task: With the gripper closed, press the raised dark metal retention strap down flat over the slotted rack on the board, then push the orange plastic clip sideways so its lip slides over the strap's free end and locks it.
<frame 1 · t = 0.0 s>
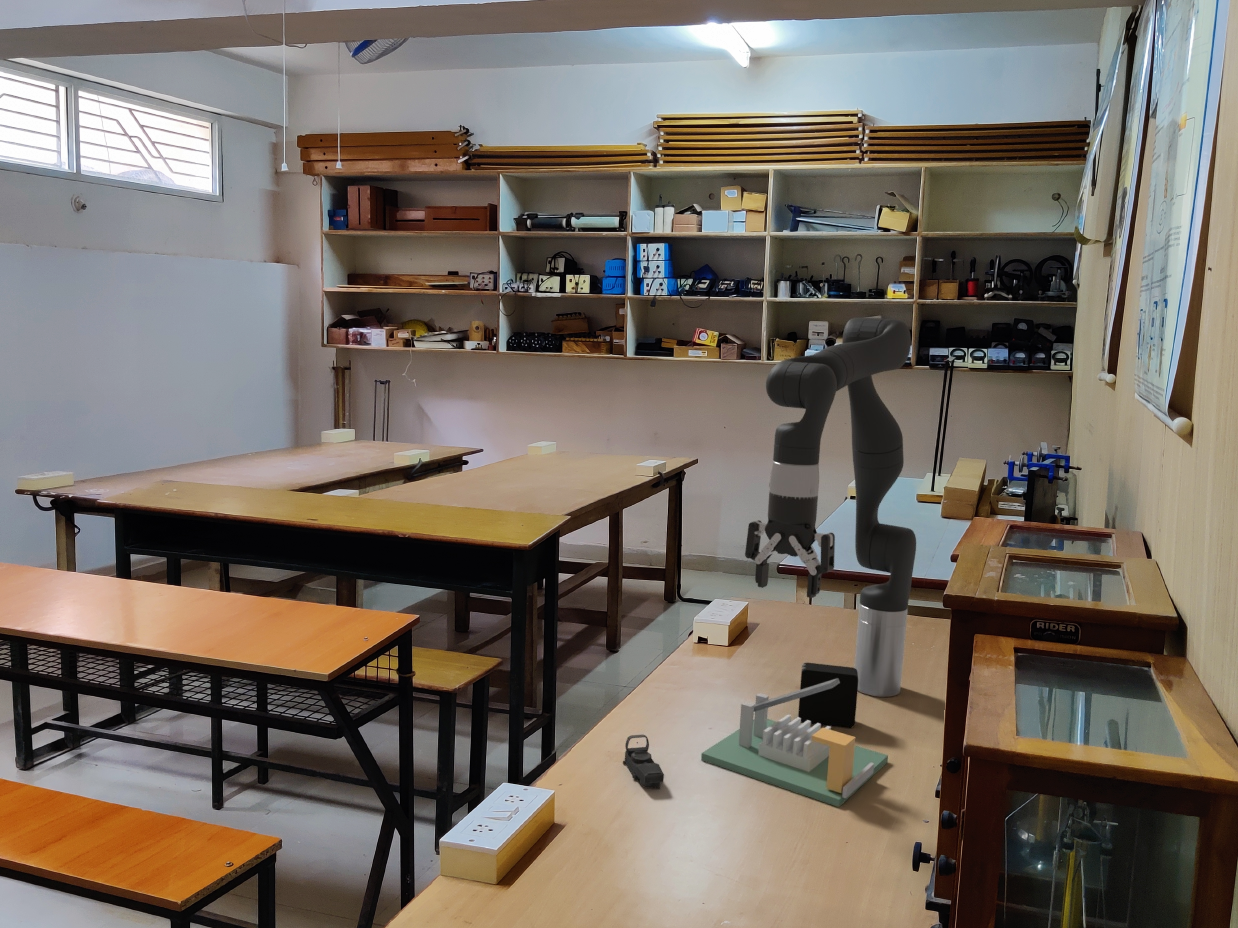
hand: (786, 591, 156), 29 cm above the table, tool pointing down, fingers open, 8 cm apart
reflex sight: (643, 778, 155), on the table
slotted rack on board: (795, 760, 163), on the table
electronic device: (825, 722, 180), on the table
strap: (792, 695, 162), point 11 cm above the table, hinge at 30.0°
clip: (831, 759, 151), point 5 cm above the table, slide at 0.0 cm
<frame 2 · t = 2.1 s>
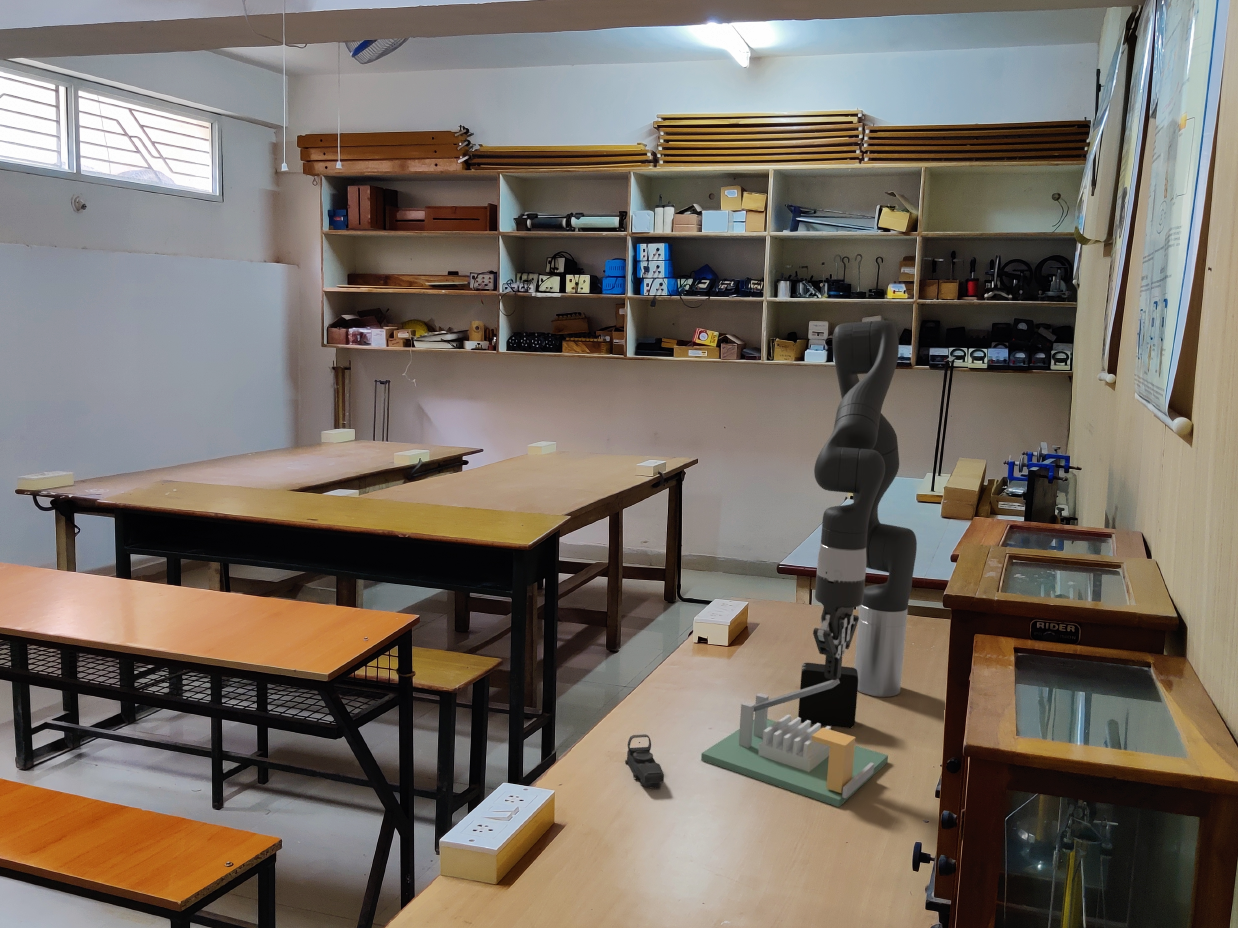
hand: (832, 677, 158), 15 cm above the table, tool pointing down, fingers closed
strap: (792, 695, 162), point 11 cm above the table, hinge at 30.0°, touching gripper
everything else where it was.
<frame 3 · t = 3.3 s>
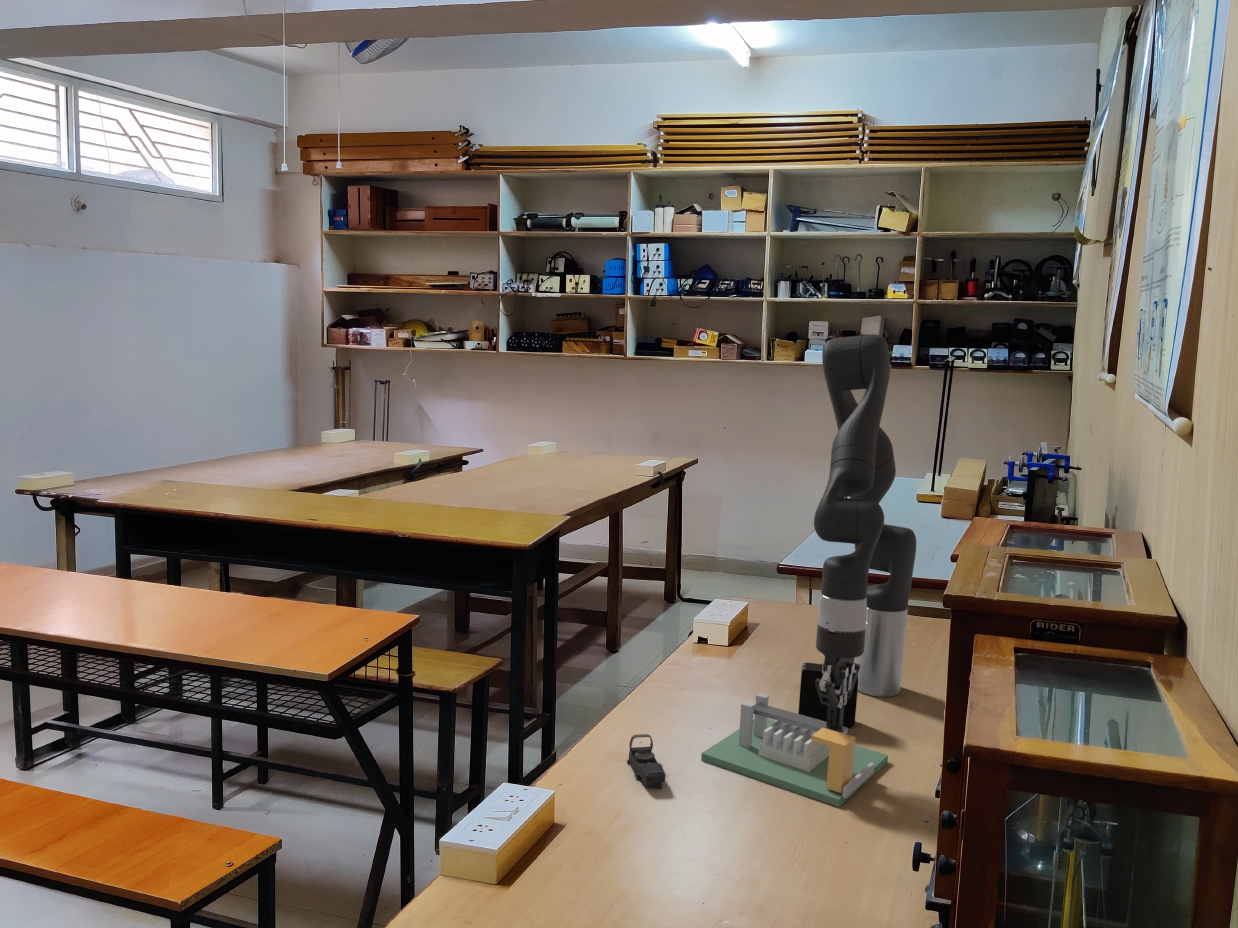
hand: (834, 727, 158), 7 cm above the table, tool pointing down, fingers closed
strap: (796, 719, 162), point 7 cm above the table, hinge at 0.7°, touching gripper
everything else where it was.
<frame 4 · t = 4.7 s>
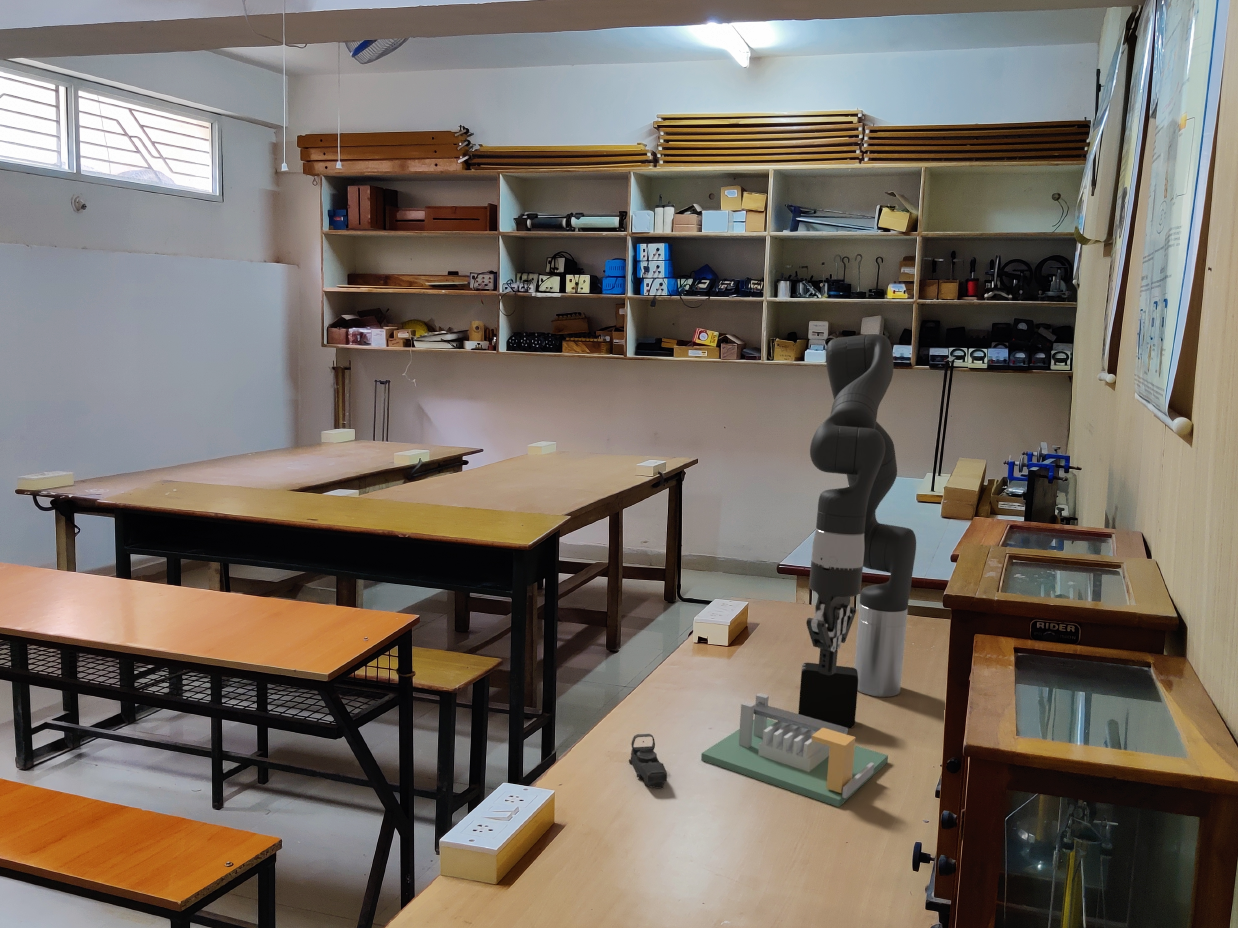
hand: (826, 673, 148), 20 cm above the table, tool pointing down, fingers closed
strap: (796, 719, 162), point 7 cm above the table, hinge at 0.6°
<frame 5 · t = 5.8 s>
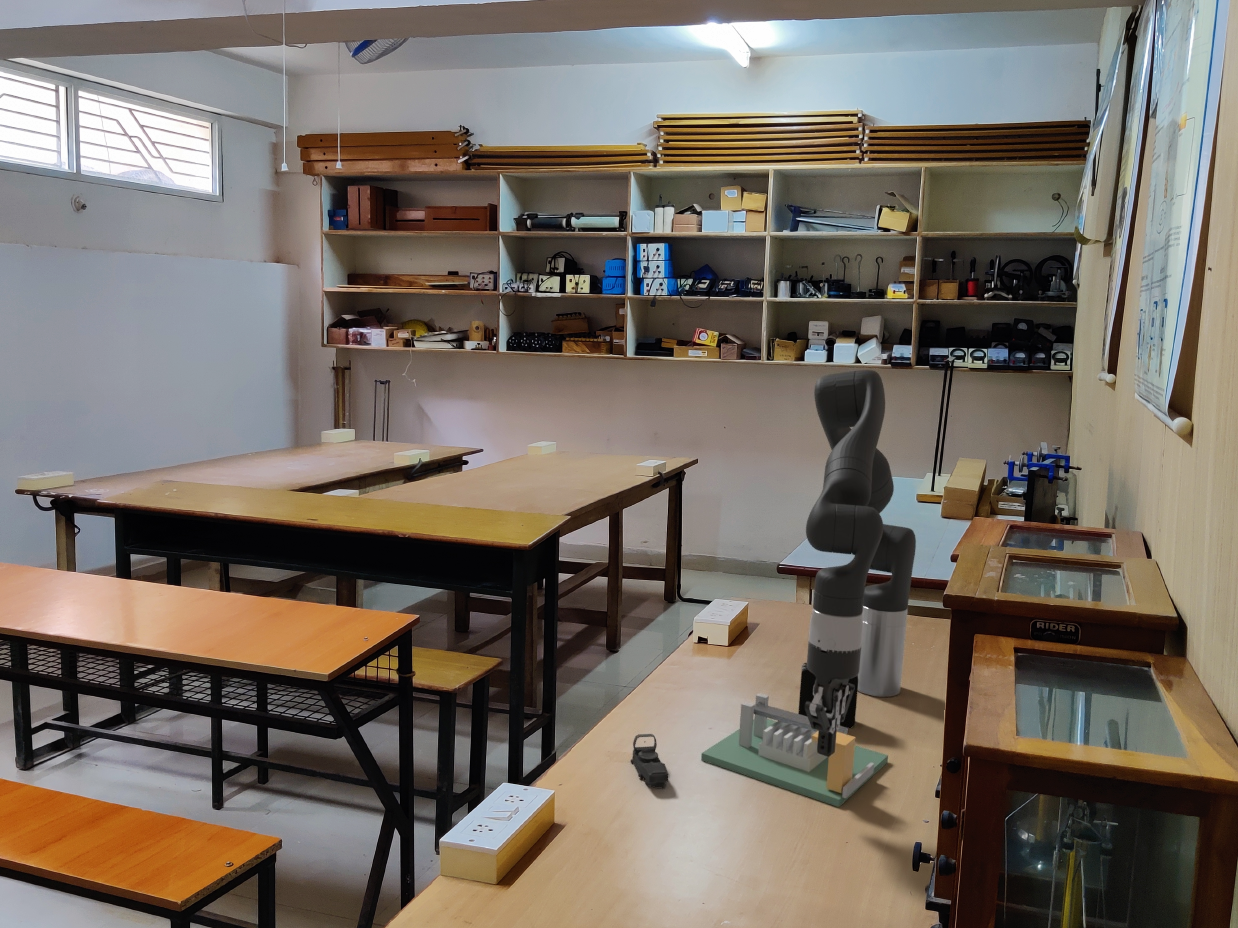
hand: (825, 753, 145), 9 cm above the table, tool pointing down, fingers closed
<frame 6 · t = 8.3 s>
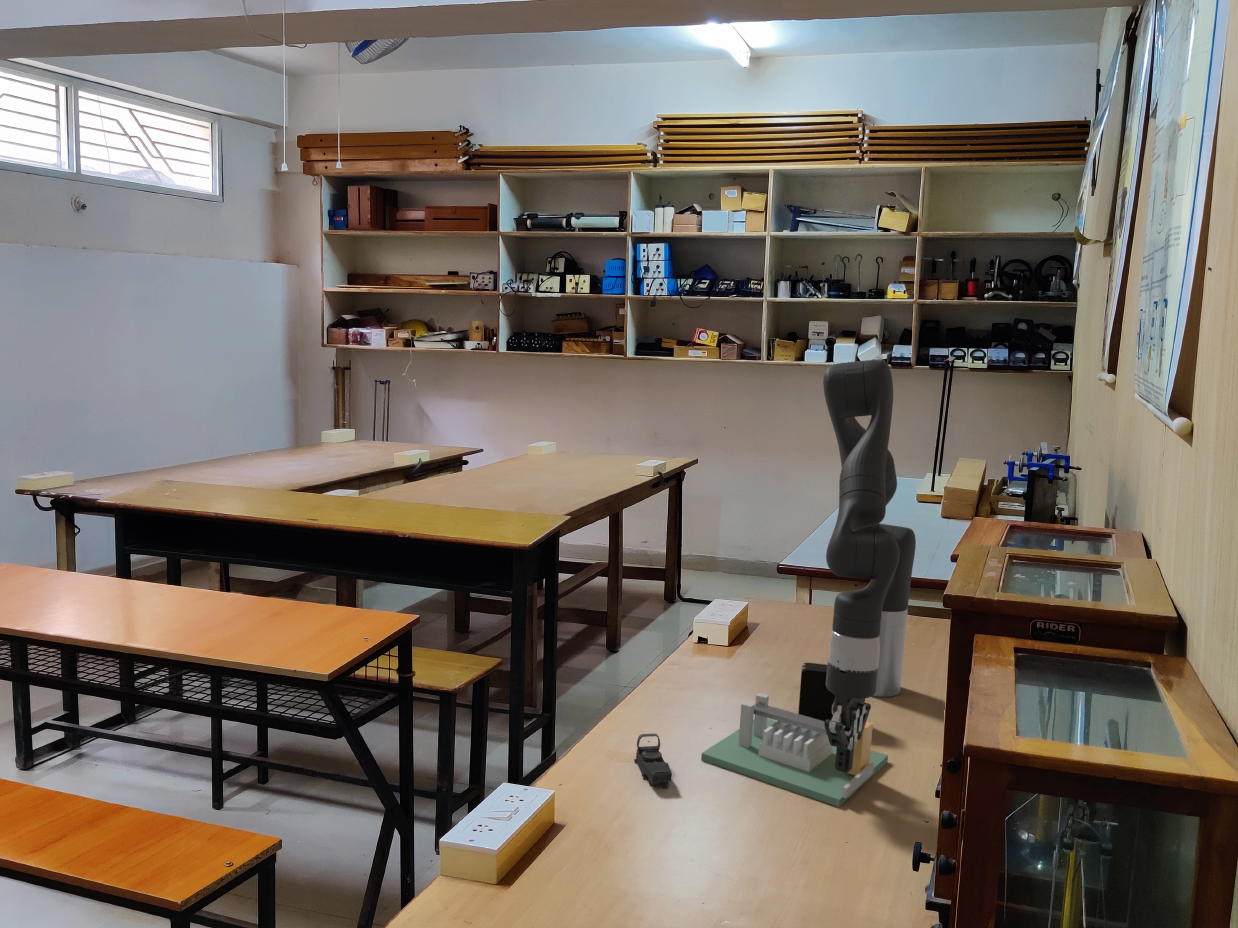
hand: (843, 769, 152), 4 cm above the table, tool pointing down, fingers closed
clip: (850, 744, 157), point 5 cm above the table, slide at 7.1 cm, touching hand
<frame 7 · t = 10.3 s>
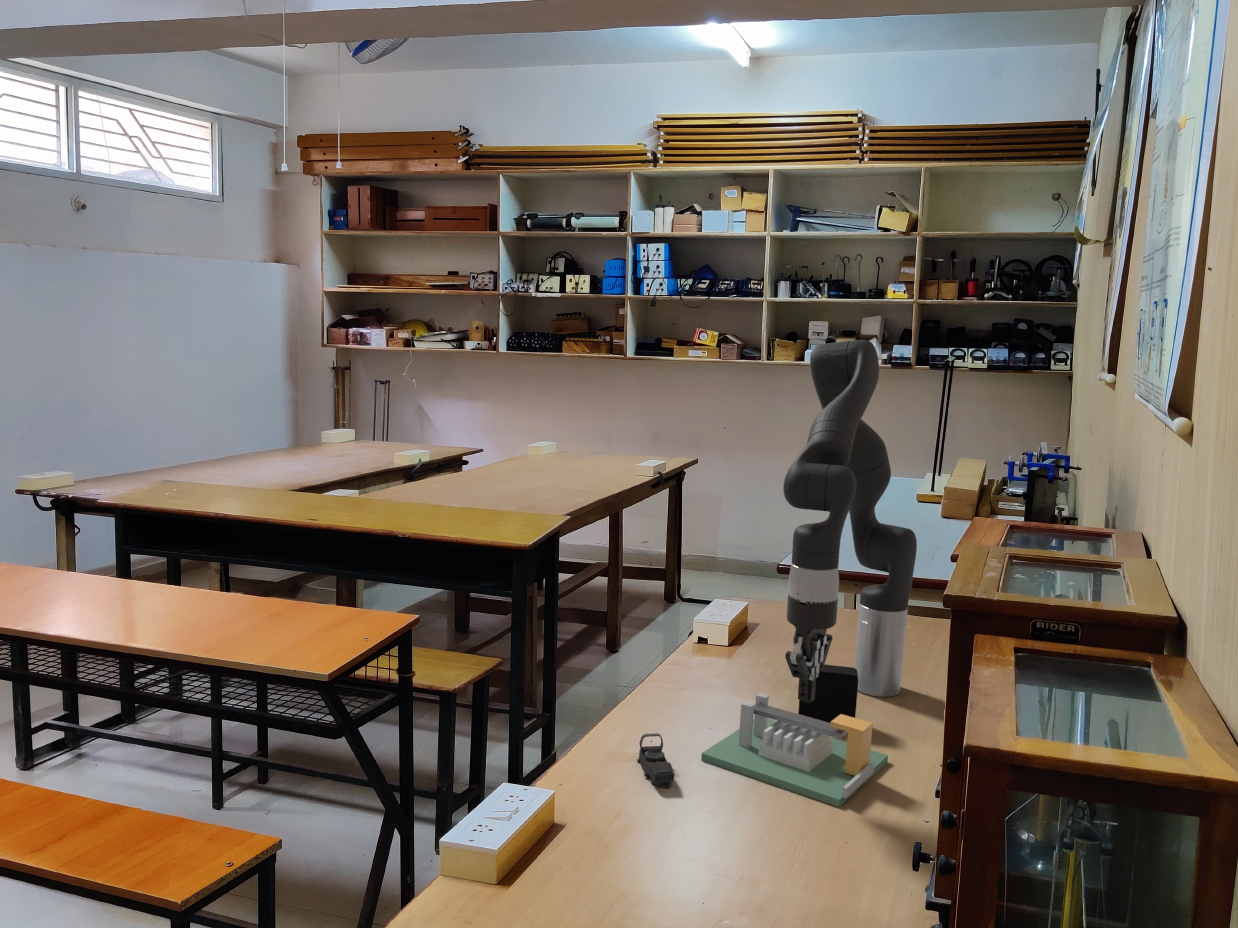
hand: (806, 700, 153), 13 cm above the table, tool pointing down, fingers closed
clip: (849, 744, 157), point 5 cm above the table, slide at 7.0 cm
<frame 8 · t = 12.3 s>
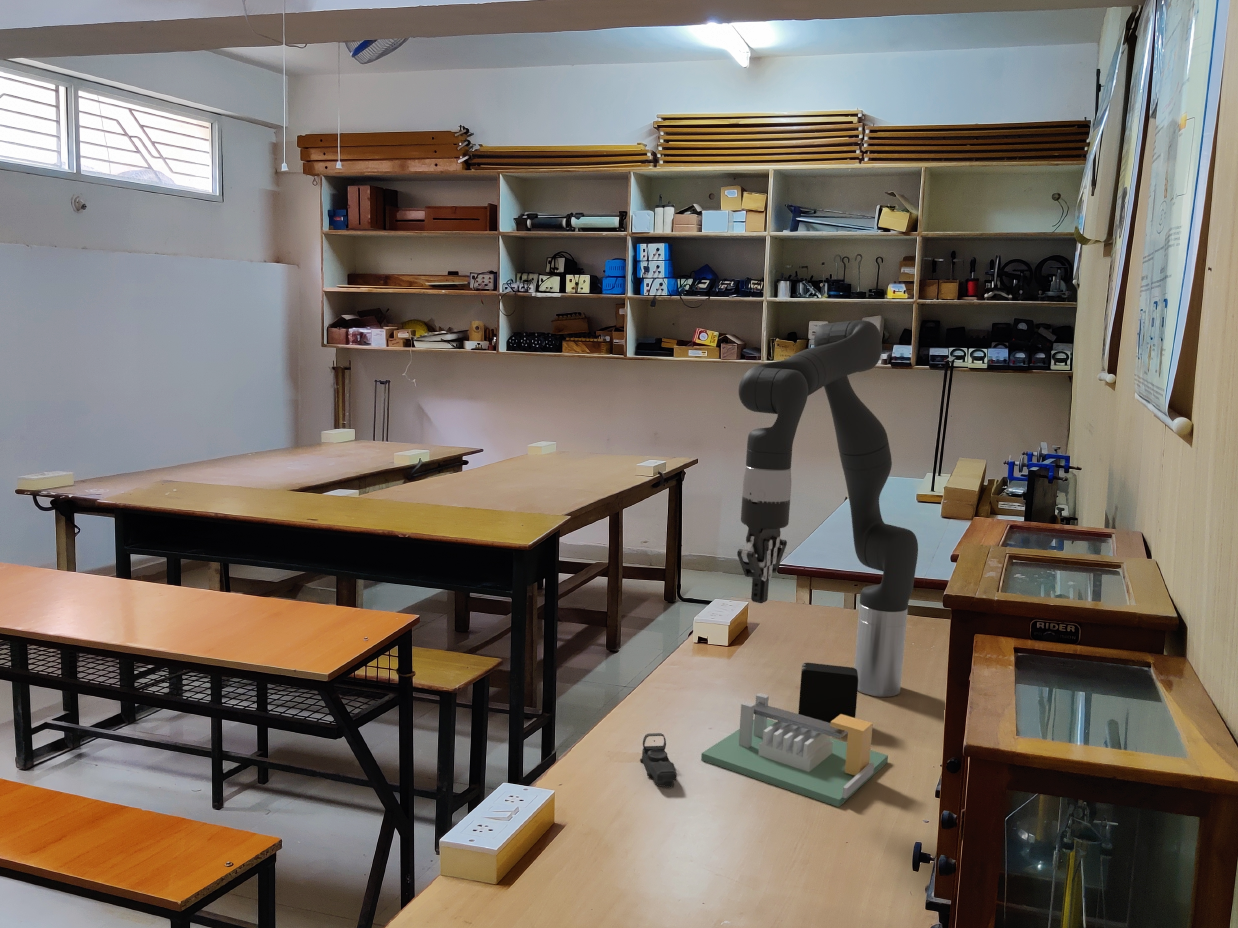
hand: (759, 601, 158), 27 cm above the table, tool pointing down, fingers closed
at the end: strap at +1° (first picture: +30°); clip slide at 7.0 cm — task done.
